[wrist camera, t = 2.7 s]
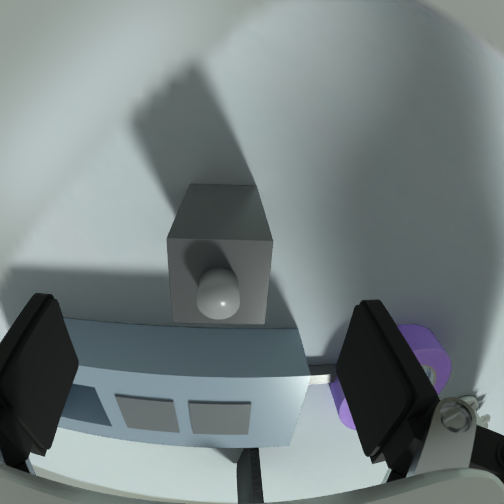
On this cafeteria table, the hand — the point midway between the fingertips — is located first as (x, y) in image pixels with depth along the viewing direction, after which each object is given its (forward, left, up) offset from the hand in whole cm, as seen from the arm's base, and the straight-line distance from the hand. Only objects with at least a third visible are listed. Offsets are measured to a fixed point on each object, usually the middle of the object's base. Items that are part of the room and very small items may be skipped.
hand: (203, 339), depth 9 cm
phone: (-3, +30, -12) cm, 33 cm away
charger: (0, 0, -12) cm, 12 cm away
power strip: (+6, +14, -12) cm, 19 cm away
